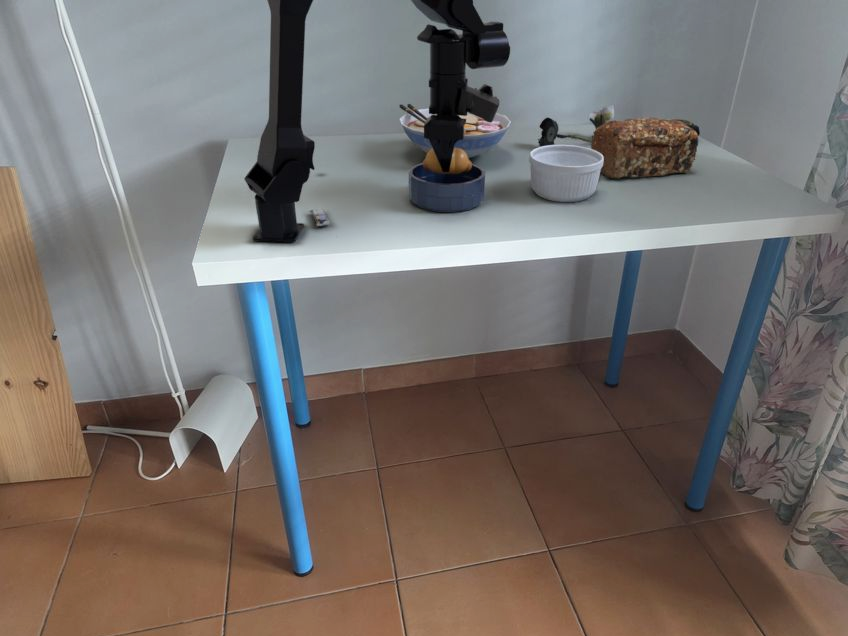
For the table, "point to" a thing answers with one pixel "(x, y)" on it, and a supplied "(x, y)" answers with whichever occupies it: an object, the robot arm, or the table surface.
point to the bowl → (446, 189)
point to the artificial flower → (551, 131)
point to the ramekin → (565, 172)
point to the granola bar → (320, 217)
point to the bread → (645, 147)
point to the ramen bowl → (476, 131)
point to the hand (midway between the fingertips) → (446, 167)
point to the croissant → (457, 162)
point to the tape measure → (690, 125)
